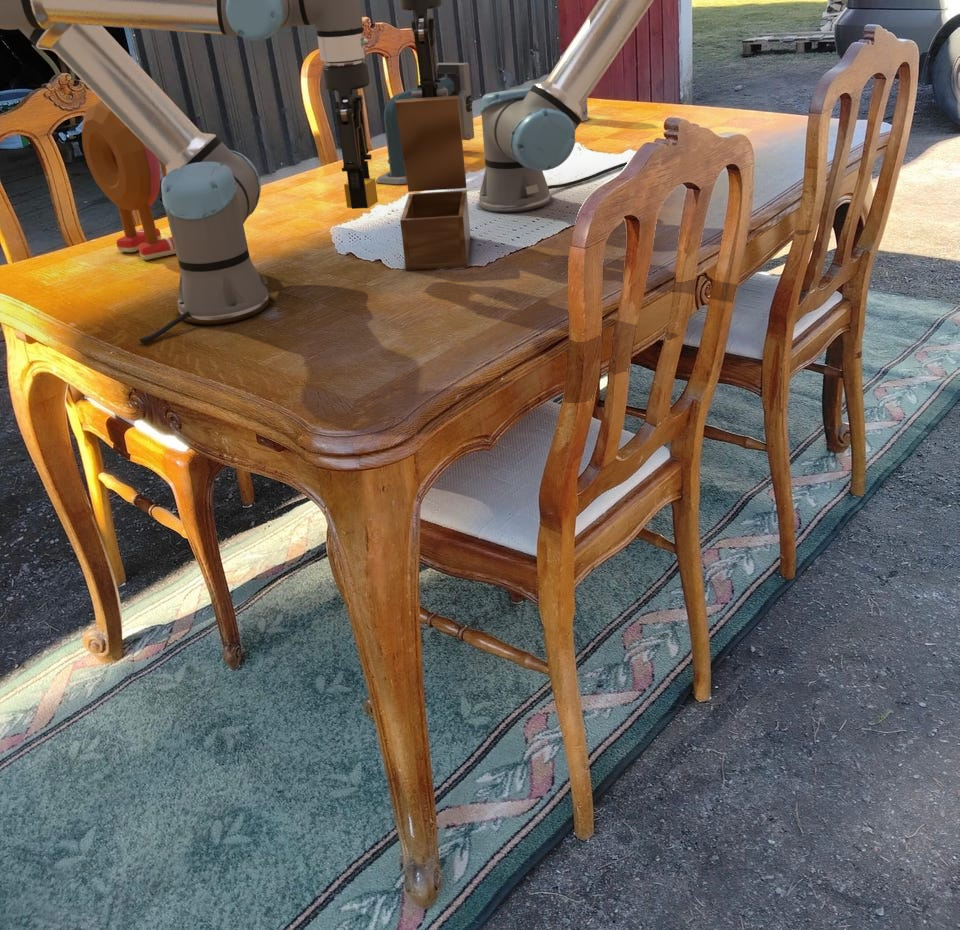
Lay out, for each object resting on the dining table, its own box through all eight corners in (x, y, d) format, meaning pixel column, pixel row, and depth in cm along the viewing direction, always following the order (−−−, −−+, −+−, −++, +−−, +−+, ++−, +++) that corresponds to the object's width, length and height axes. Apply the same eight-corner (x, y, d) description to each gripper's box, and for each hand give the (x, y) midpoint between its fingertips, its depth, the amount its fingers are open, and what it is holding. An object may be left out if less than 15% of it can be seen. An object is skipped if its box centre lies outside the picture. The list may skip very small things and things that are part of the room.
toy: (201, 251, 195) (166, 95, 180) (157, 266, 189) (116, 105, 173) (147, 235, 208) (109, 88, 193) (104, 248, 202) (61, 97, 187)
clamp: (404, 184, 229) (393, 89, 218) (373, 182, 232) (361, 89, 222) (475, 149, 254) (468, 62, 243) (446, 148, 258) (439, 62, 247)
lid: (457, 98, 172) (458, 74, 178) (395, 102, 172) (398, 79, 178) (466, 188, 185) (467, 163, 191) (408, 192, 186) (410, 167, 192)
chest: (467, 266, 176) (463, 216, 171) (405, 270, 176) (400, 220, 172) (470, 236, 191) (466, 189, 186) (413, 240, 191) (408, 193, 187)
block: (368, 208, 168) (365, 184, 166) (347, 207, 170) (343, 184, 168) (378, 201, 172) (375, 178, 170) (357, 201, 173) (354, 178, 171)
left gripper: (358, 69, 151) (376, 217, 163) (374, 52, 166) (389, 188, 178) (311, 72, 151) (332, 219, 163) (330, 55, 167) (348, 190, 179)
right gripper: (437, -15, 163) (450, 129, 175) (443, -22, 176) (455, 113, 188) (393, -11, 164) (409, 132, 176) (403, -19, 177) (416, 115, 189)
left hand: (362, 202), depth 171 cm, fingers closed on block, 5 cm apart
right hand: (433, 122), depth 182 cm, fingers closed on lid, 2 cm apart
